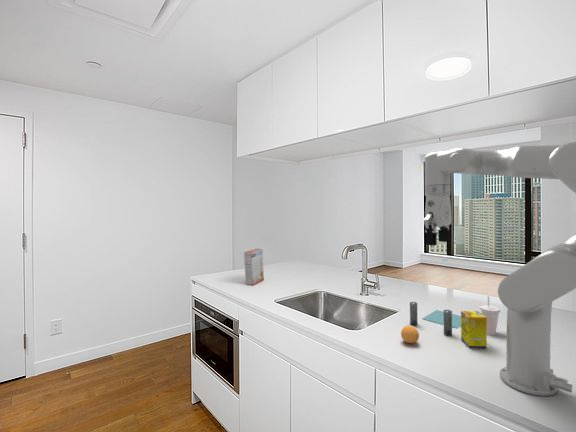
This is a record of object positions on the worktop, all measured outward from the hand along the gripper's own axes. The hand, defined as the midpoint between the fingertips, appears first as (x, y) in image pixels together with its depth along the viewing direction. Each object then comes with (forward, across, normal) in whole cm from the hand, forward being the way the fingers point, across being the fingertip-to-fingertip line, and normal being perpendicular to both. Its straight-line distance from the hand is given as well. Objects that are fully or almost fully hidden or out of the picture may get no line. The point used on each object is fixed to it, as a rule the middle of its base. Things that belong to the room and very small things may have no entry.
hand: (437, 243), depth 102 cm
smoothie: (+37, +28, -7) cm, 47 cm away
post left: (+37, +16, +16) cm, 43 cm away
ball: (+34, 0, +10) cm, 35 cm away
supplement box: (+37, +14, -6) cm, 40 cm away
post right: (+37, +16, +3) cm, 40 cm away
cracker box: (+37, +11, +120) cm, 126 cm away
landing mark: (+37, +31, +10) cm, 49 cm away
